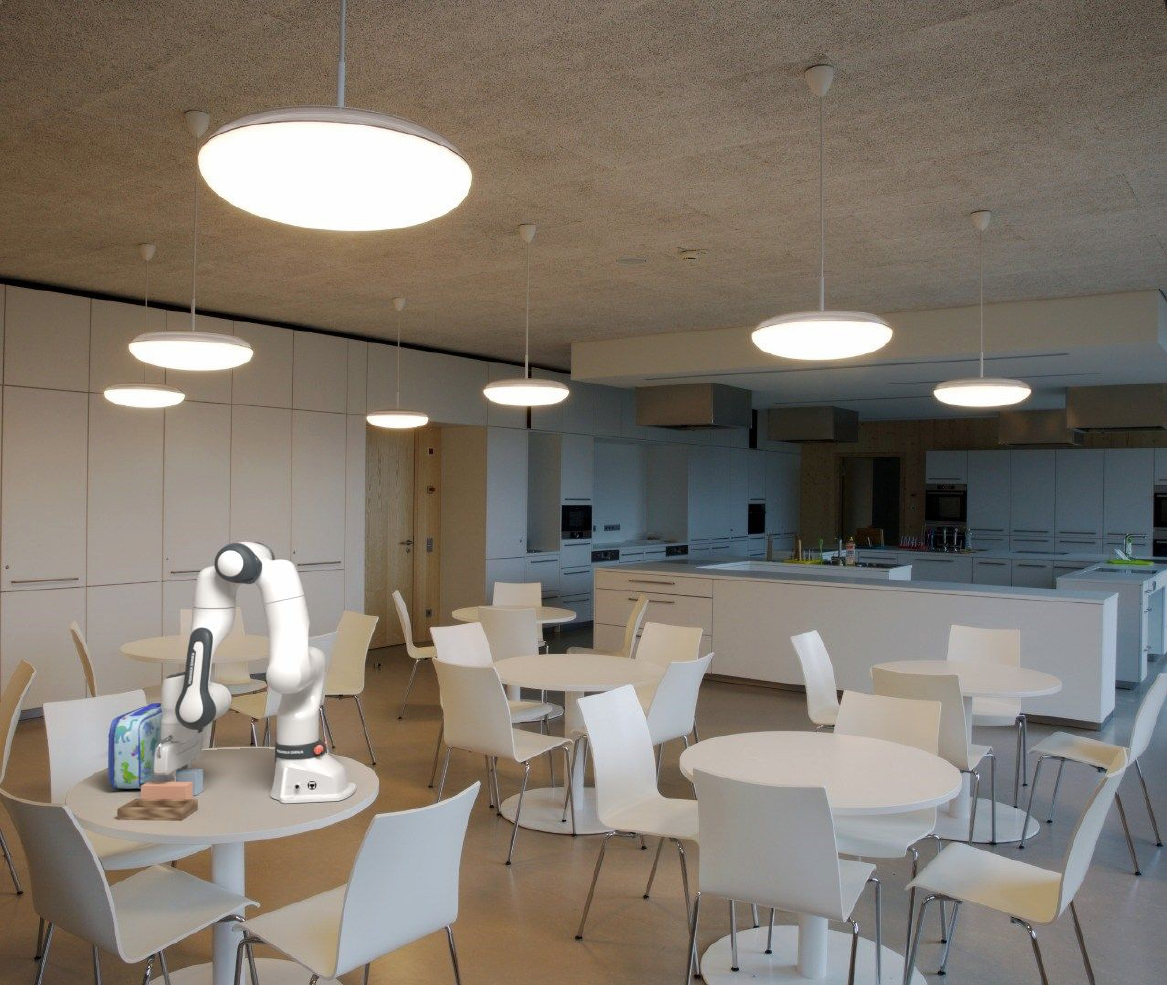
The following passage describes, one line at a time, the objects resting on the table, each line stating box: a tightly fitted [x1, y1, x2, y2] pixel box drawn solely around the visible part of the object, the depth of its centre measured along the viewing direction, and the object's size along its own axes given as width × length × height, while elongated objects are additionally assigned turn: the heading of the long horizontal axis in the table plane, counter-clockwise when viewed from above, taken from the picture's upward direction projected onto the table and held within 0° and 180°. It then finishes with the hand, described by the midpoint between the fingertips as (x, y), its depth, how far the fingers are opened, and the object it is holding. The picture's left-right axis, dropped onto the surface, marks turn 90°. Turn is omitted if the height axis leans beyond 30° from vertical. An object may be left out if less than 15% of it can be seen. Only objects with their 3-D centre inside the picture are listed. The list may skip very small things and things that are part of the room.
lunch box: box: [107, 702, 162, 790], centre depth 266 cm, size 26×11×21 cm, turn 3°
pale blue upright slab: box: [154, 768, 204, 797], centre depth 254 cm, size 12×4×6 cm, turn 83°
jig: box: [116, 798, 199, 821], centre depth 235 cm, size 16×8×3 cm, turn 87°
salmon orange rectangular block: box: [140, 782, 194, 799], centre depth 246 cm, size 12×4×5 cm, turn 87°
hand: (178, 782), depth 254 cm, fingers closed on pale blue upright slab, 4 cm apart
